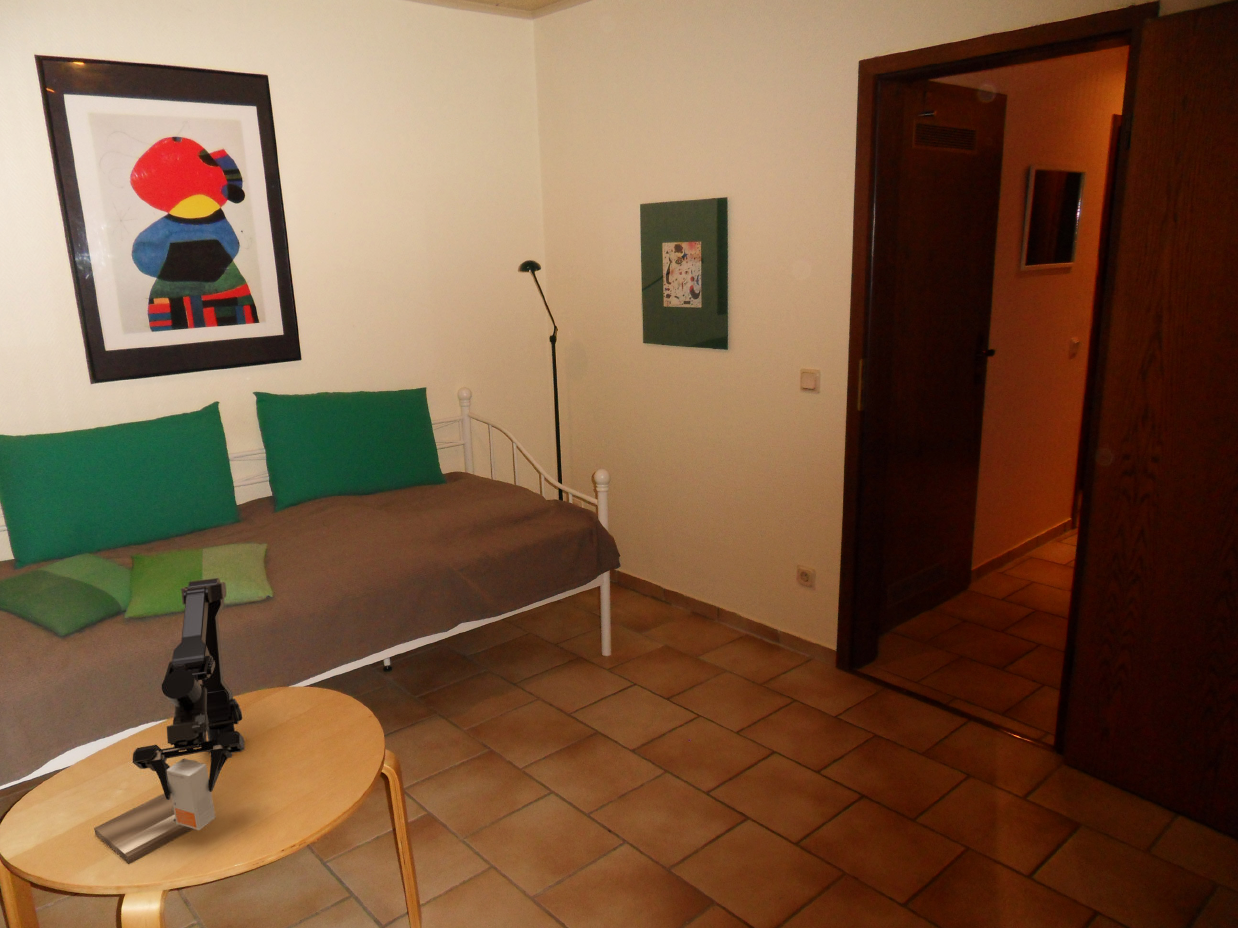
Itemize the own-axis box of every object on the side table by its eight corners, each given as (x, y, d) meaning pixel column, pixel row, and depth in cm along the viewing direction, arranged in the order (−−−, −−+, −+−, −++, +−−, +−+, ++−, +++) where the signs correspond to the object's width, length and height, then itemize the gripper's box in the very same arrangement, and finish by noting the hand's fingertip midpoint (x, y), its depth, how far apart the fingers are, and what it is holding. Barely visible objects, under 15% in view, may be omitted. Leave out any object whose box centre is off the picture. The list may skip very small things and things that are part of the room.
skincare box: (175, 824, 164) (165, 769, 161) (193, 811, 168) (183, 757, 165) (199, 831, 162) (188, 775, 159) (216, 817, 166) (207, 763, 163)
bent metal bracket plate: (95, 834, 167) (93, 826, 167) (179, 792, 180) (178, 784, 180) (129, 863, 159) (127, 855, 158) (215, 816, 171) (213, 809, 171)
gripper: (125, 710, 160) (121, 797, 153) (233, 693, 165) (234, 775, 158) (142, 726, 169) (139, 808, 162) (244, 709, 175) (245, 788, 167)
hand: (189, 795), depth 162 cm, fingers closed on skincare box, 7 cm apart
